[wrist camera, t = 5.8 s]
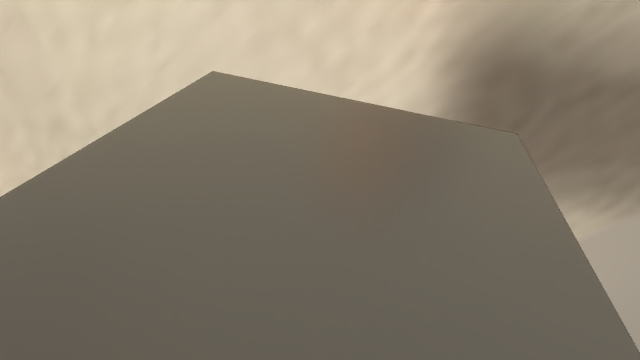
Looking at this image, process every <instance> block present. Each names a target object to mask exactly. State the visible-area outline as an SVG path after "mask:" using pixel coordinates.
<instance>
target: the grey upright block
mask: <svg viewBox="0 0 640 360" xmlns="http://www.w3.org/2000/svg"><path fill="white" fill-rule="evenodd" d="M0 360H640V352H639V351H638V349H637V347H636V345H635V343H634V342H633V340H632V338H631V336H630V334H629V333H628V331H627V329H626V327H625V326H624V324H623V322H622V320H621V318H620V317H619V315H618V313H617V311H616V310H615V308H614V306H613V304H612V302H611V300H610V299H609V297H608V295H607V293H606V291H605V290H604V288H603V286H602V285H601V283H600V281H599V279H598V277H597V276H596V274H595V272H594V270H593V268H592V266H591V265H590V263H589V261H588V259H587V258H586V256H585V254H584V252H583V250H582V249H581V247H580V245H579V243H578V241H577V240H576V238H575V236H574V234H573V232H572V231H571V229H570V227H569V225H568V224H567V222H566V220H565V218H564V216H563V215H562V213H561V211H560V209H559V207H558V206H557V204H556V202H555V200H554V198H553V197H552V195H551V193H550V191H549V190H548V188H547V186H546V184H545V182H544V181H543V179H542V177H541V175H540V173H539V172H538V170H537V168H536V166H535V165H534V163H533V161H532V159H531V157H530V156H529V154H528V152H527V150H526V148H525V147H524V145H523V143H522V141H521V139H520V138H519V136H518V134H515V133H510V132H505V131H500V130H496V129H491V128H486V127H481V126H476V125H471V124H466V123H462V122H457V121H452V120H447V119H442V118H437V117H433V116H428V115H423V114H418V113H413V112H408V111H403V110H399V109H394V108H389V107H384V106H379V105H374V104H370V103H365V102H360V101H355V100H350V99H345V98H340V97H336V96H331V95H326V94H321V93H316V92H311V91H306V90H302V89H297V88H292V87H287V86H282V85H277V84H273V83H268V82H263V81H258V80H253V79H248V78H243V77H239V76H234V75H229V74H224V73H219V72H214V71H212V72H211V73H209V74H207V75H206V76H204V77H202V78H200V79H199V80H197V81H195V82H194V83H192V84H190V85H189V86H187V87H185V88H184V89H182V90H180V91H179V92H177V93H175V94H173V95H172V96H170V97H168V98H167V99H165V100H163V101H162V102H160V103H158V104H157V105H155V106H153V107H152V108H150V109H148V110H146V111H145V112H143V113H141V114H140V115H138V116H136V117H135V118H133V119H131V120H130V121H128V122H126V123H125V124H123V125H121V126H119V127H118V128H116V129H114V130H113V131H111V132H109V133H108V134H106V135H104V136H103V137H101V138H99V139H98V140H96V141H94V142H93V143H91V144H89V145H87V146H86V147H84V148H82V149H81V150H79V151H77V152H76V153H74V154H72V155H71V156H69V157H67V158H66V159H64V160H62V161H60V162H59V163H57V164H55V165H54V166H52V167H50V168H49V169H47V170H45V171H44V172H42V173H40V174H39V175H37V176H35V177H33V178H32V179H30V180H28V181H27V182H25V183H23V184H22V185H20V186H18V187H17V188H15V189H13V190H12V191H10V192H8V193H6V194H5V195H3V196H1V197H0Z"/></svg>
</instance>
